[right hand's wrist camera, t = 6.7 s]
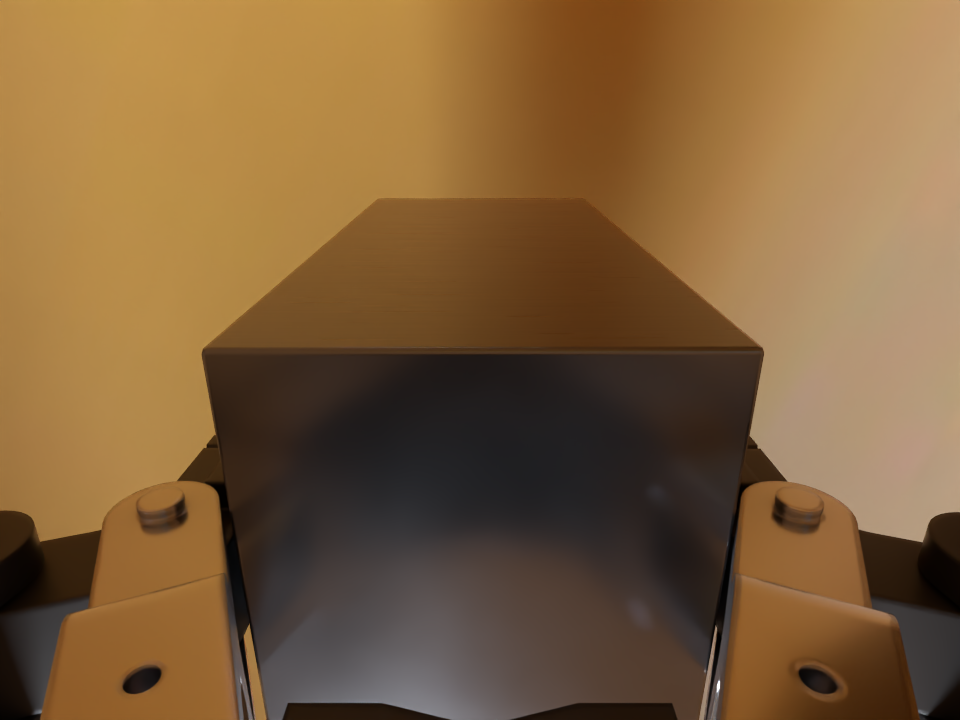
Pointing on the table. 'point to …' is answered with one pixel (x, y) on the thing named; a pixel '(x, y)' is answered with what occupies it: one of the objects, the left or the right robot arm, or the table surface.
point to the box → (482, 464)
